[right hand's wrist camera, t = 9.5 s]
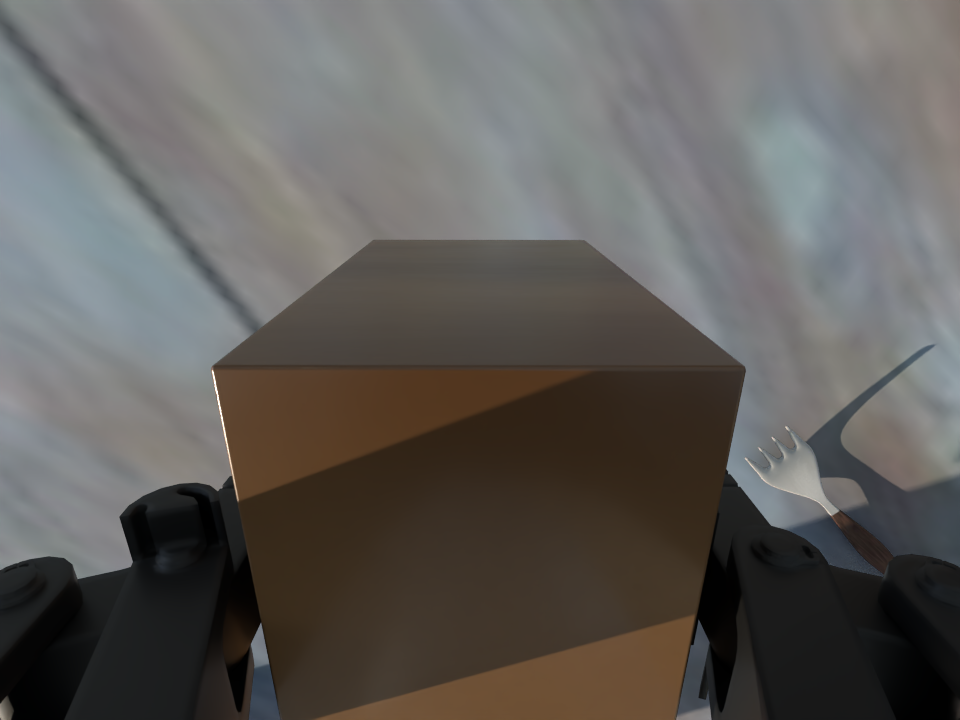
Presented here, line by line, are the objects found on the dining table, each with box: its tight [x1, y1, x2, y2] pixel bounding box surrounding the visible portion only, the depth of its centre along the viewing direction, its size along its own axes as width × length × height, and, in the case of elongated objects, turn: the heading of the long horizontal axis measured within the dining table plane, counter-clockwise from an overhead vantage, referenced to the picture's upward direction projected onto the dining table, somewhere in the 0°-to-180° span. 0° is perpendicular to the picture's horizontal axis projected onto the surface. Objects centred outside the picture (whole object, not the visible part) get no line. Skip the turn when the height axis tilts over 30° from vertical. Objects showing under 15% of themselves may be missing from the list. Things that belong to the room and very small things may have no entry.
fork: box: [745, 426, 894, 574], centre depth 25 cm, size 3×16×2 cm, turn 47°
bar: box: [211, 240, 746, 720], centre depth 13 cm, size 23×6×9 cm, turn 0°
